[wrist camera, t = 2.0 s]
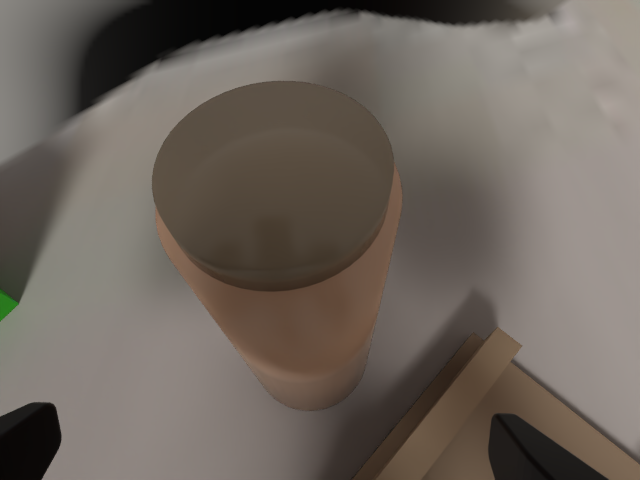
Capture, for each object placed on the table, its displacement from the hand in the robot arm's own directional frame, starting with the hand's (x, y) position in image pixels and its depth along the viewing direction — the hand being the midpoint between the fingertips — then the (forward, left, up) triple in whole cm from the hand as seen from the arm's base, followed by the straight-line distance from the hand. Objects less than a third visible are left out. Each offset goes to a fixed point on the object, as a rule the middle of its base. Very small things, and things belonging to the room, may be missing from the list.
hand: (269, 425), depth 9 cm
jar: (+3, +3, -11) cm, 12 cm away
